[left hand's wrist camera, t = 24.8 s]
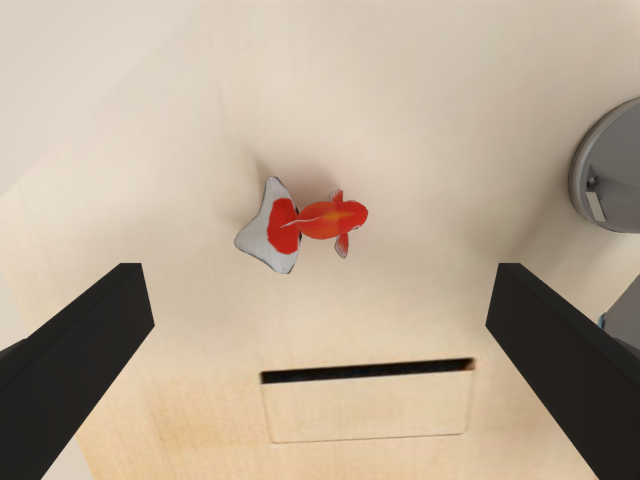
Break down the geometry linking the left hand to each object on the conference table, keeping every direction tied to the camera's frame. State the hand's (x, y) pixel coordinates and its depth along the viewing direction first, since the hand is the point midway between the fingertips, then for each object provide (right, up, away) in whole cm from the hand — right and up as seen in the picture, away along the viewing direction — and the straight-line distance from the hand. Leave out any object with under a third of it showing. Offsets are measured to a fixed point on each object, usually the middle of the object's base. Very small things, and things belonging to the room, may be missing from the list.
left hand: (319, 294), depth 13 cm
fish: (-3, +5, +29) cm, 30 cm away
